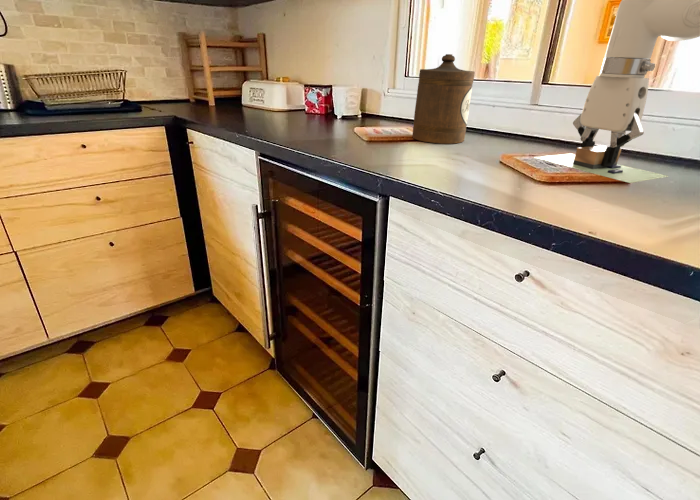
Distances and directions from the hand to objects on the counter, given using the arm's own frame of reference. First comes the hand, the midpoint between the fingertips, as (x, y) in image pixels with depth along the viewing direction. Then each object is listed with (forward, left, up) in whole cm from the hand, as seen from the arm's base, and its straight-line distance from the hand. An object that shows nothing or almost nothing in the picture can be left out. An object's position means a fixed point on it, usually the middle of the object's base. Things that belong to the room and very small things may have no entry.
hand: (595, 162), depth 85 cm
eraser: (0, 0, -1) cm, 1 cm away
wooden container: (+41, +9, -2) cm, 42 cm away
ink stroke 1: (-3, -2, -1) cm, 4 cm away
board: (-1, 0, -2) cm, 2 cm away
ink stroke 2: (-6, +2, -1) cm, 6 cm away
